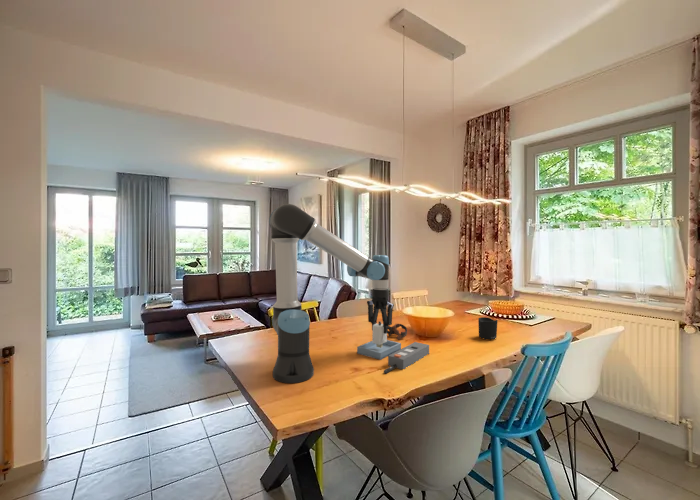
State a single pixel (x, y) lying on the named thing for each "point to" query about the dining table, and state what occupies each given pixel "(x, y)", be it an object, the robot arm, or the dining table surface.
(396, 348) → the tray
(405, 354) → the power strip
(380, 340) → the charger
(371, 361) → the dining table surface
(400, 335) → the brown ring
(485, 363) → the dining table surface
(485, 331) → the pen holder
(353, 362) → the dining table surface
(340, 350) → the dining table surface
